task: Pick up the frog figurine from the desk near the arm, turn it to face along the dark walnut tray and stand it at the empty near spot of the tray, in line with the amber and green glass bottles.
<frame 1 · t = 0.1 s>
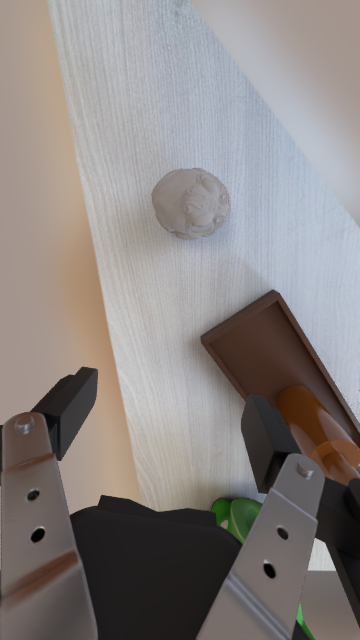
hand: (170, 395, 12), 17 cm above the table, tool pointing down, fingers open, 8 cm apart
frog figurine: (189, 210, 25), on the table
tray: (289, 393, 32), on the table
amber bottle: (295, 401, 31), point 1 cm above the table, touching tray
piggy bank: (232, 516, 40), on the table
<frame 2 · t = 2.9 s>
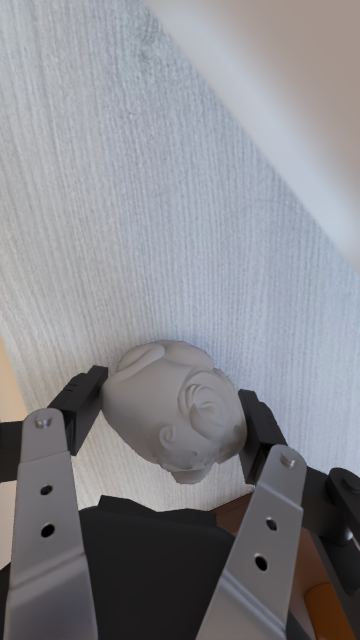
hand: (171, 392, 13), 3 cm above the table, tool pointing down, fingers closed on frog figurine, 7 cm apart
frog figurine: (175, 363, 16), on the table, touching gripper
tray: (323, 583, 22), on the table
amber bottle: (331, 598, 22), point 1 cm above the table, touching tray
when the fingers open (4 cm above the table, at t = 11.5 s): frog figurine stays where it is, resting on tray.
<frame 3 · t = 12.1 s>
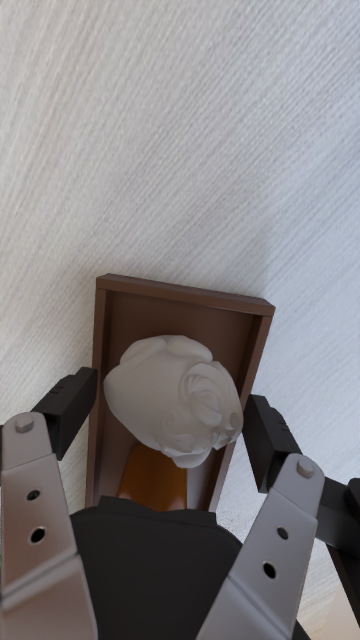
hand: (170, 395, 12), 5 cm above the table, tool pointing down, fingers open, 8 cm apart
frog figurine: (175, 357, 16), resting on tray
tray: (159, 449, 19), on the table
amber bottle: (156, 464, 19), point 1 cm above the table, touching tray
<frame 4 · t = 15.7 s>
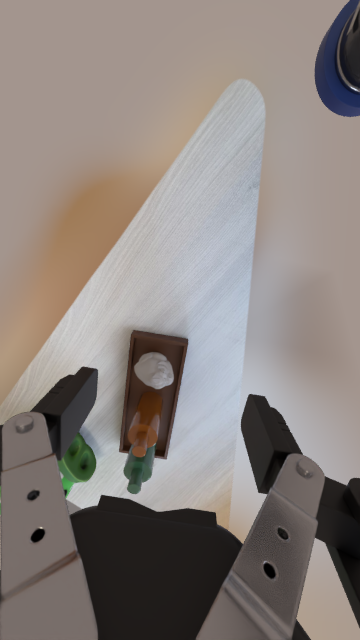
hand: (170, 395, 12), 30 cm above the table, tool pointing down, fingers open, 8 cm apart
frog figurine: (157, 359, 45), resting on tray
green bottle: (146, 433, 50), point 1 cm above the table, touching tray
tray: (152, 396, 48), on the table
amber bottle: (151, 402, 48), point 1 cm above the table, touching tray
piggy bank: (59, 442, 53), on the table
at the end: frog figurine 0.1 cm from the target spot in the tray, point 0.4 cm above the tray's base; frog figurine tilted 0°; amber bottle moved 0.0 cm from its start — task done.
